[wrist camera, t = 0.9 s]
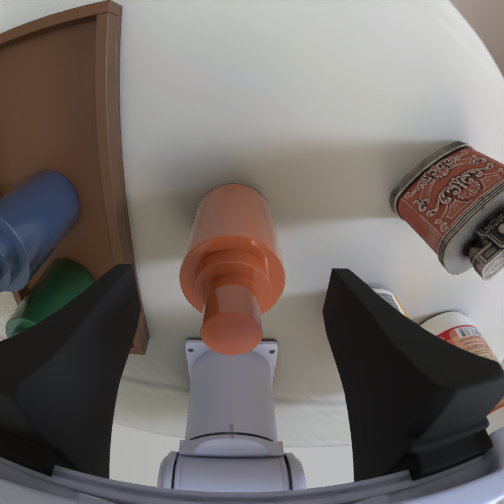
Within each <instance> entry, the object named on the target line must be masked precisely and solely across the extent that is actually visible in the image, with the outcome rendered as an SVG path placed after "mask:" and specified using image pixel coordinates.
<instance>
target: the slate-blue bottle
mask: <svg viewBox="0 0 504 504" xmlns="http://www.w3.org/2000/svg"><path fill="white" fill-rule="evenodd" d="M79 216H80V202H79V197H78V194H77V192H76V190H75V188H74V186H73V185H72V184H71V182H70V181H69V180H68V179H67V178H66V177H65V176H63V175H62V174H60V173H58V172H56V171H52V170H43V171H40V172H37V173H36V174H34V175H32V176H31V177H29V178H28V179H26V180H25V181H23V182H22V183H20V184H19V185H17V186H16V187H14V188H13V189H11V190H10V191H8V192H7V193H5V194H4V195H2V196H1V197H0V292H4V291H8V292H16V291H19V290H21V289H23V288H24V287H25V286H26V285H27V284H28V282H29V281H30V280H31V278H32V277H33V276H34V275H35V273H36V272H37V271H38V270H39V268H40V267H41V266H42V265H43V263H44V262H45V261H46V260H47V258H48V257H49V256H50V255H51V254H52V252H53V251H54V250H55V249H56V248H57V247H58V245H59V244H60V243H61V242H62V241H63V240H64V238H65V237H66V236H67V235H68V234H69V233H70V232H71V231H72V229H73V228H74V227H75V226H76V224H77V222H78V220H79Z"/></svg>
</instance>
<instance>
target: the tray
mask: <svg viewBox="0 0 504 504" xmlns="http://www.w3.org/2000/svg"><path fill="white" fill-rule="evenodd" d="M121 14H122V6H120V5H119V4H117V3H115V2H113V1H111V0H106V1H102V2H97V3H93V4H88V5H84V6H80V7H76V8H73V9H69V10H65V11H62V12H59V13H55V14H52V15H49V16H46V17H43V18H40V19H37V20H34V21H31V22H29V23H26V24H23V25H21V26H18V27H15V28H13V29H10V30H8V31H6V32H3V33H1V34H0V197H1V196H2V195H4V194H5V193H7V192H8V191H10V190H11V189H13V188H14V187H16V186H17V185H19V184H20V183H22V182H23V181H25V180H26V179H28V178H29V177H31V176H32V175H34V174H36V173H37V172H40V171H43V170H52V171H56V172H58V173H60V174H62V175H63V176H65V177H66V178H67V179H68V180H69V181H70V182H71V184H72V185H73V186H74V188H75V190H76V192H77V194H78V197H79V202H80V216H79V220H78V222H77V224H76V226H75V227H74V228H73V229H72V231H71V232H70V233H69V234H68V235H67V236H66V237H65V238H64V240H63V241H62V242H61V243H60V244H59V245H58V247H57V248H56V249H55V250H54V251H53V252H52V254H51V255H50V256H49V257H48V258H47V260H46V261H45V262H44V263H43V265H42V266H41V267H40V268H39V270H38V271H37V272H36V273H35V275H34V276H33V277H32V278H31V280H30V281H29V282H28V284H27V285H26V286H25V287H24V288H23V289H21V290H19V291H16V292H12V293H13V296H14V298H15V300H16V303H17V305H18V306H19V304H20V303H21V301H22V300H23V298H24V297H25V296H26V294H27V293H28V292H29V290H30V289H31V287H32V286H33V285H34V283H35V282H36V281H37V279H38V278H39V277H40V276H41V274H42V273H43V272H44V270H45V269H46V268H47V267H48V265H49V264H50V263H51V262H53V261H54V260H57V259H69V260H72V261H75V262H77V263H79V264H80V265H82V266H83V267H84V268H85V269H87V270H88V271H89V273H90V274H91V275H92V276H93V278H94V280H95V281H96V280H98V279H99V278H100V277H101V276H102V275H104V274H105V273H106V272H107V271H109V270H110V269H111V268H112V267H114V266H115V265H117V264H133V266H134V272H135V278H136V283H137V289H138V294H139V299H140V304H141V312H140V317H139V322H138V327H137V331H136V334H135V337H134V340H133V343H132V346H131V349H130V352H129V353H130V354H141V355H145V352H146V348H147V344H148V340H149V334H148V330H147V325H146V321H145V316H144V311H143V306H142V301H141V296H140V291H139V285H138V280H137V274H136V268H135V262H134V256H133V249H132V242H131V235H130V228H129V221H128V212H127V204H126V195H125V185H124V174H123V162H122V148H121V130H120V101H119V58H120V31H121Z"/></svg>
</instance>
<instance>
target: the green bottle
mask: <svg viewBox="0 0 504 504" xmlns="http://www.w3.org/2000/svg"><path fill="white" fill-rule="evenodd" d="M94 282H95V280H94V278H93V276H92V275H91V274H90V273H89V271H88V270H87V269H85V268H84V267H83V266H82V265H80V264H79V263H77V262H75V261H72V260H69V259H57V260H54V261H53V262H51V263H50V264H49V265H48V267H47V268H46V269H45V270H44V272H43V273H42V274H41V276H40V277H39V278H38V279H37V281H36V282H35V283H34V285H33V286H32V287H31V289H30V290H29V292H28V293H27V294H26V296H25V297H24V298H23V300H22V301H21V303H20V304H19V306H18V307H17V308H16V310H15V311H14V313H13V314H12V316H11V317H10V319H9V320H8V322H7V324H6V335H7V338H10V337H12V336H14V335H16V334H18V333H20V332H22V331H24V330H26V329H28V328H29V327H31V326H33V325H35V324H37V323H39V322H40V321H42V320H44V319H45V318H47V317H48V316H50V315H52V314H53V313H55V312H56V311H58V310H59V309H60V308H62V307H63V306H65V305H66V304H67V303H68V302H70V301H71V300H72V299H74V298H75V297H76V296H78V295H79V294H80V293H82V292H83V291H84V290H85V289H87V288H88V287H89V286H90V285H91V284H93V283H94Z"/></svg>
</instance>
